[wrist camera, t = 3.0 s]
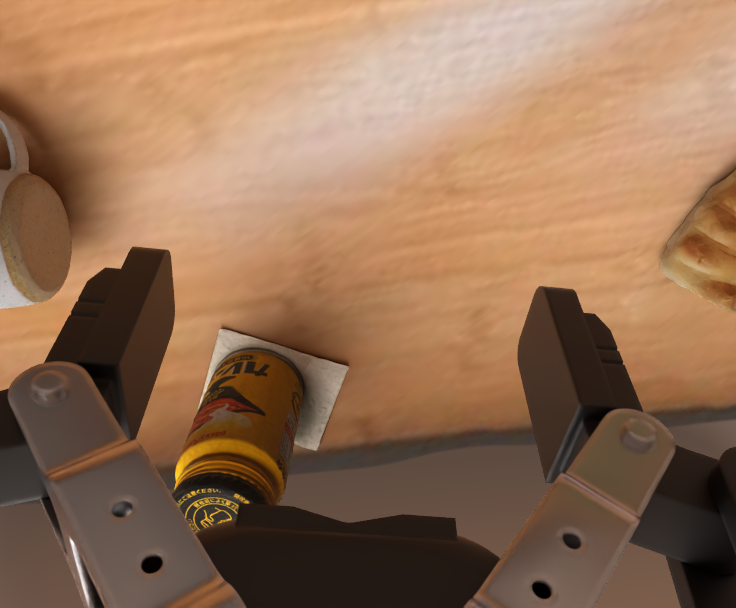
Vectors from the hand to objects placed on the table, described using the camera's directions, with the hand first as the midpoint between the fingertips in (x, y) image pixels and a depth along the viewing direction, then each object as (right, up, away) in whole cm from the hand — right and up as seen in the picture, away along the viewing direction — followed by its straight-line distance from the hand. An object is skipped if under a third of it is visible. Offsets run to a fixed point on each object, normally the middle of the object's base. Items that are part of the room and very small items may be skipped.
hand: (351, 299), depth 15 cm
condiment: (-6, -6, +31) cm, 32 cm away
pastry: (+21, +4, +24) cm, 32 cm away
